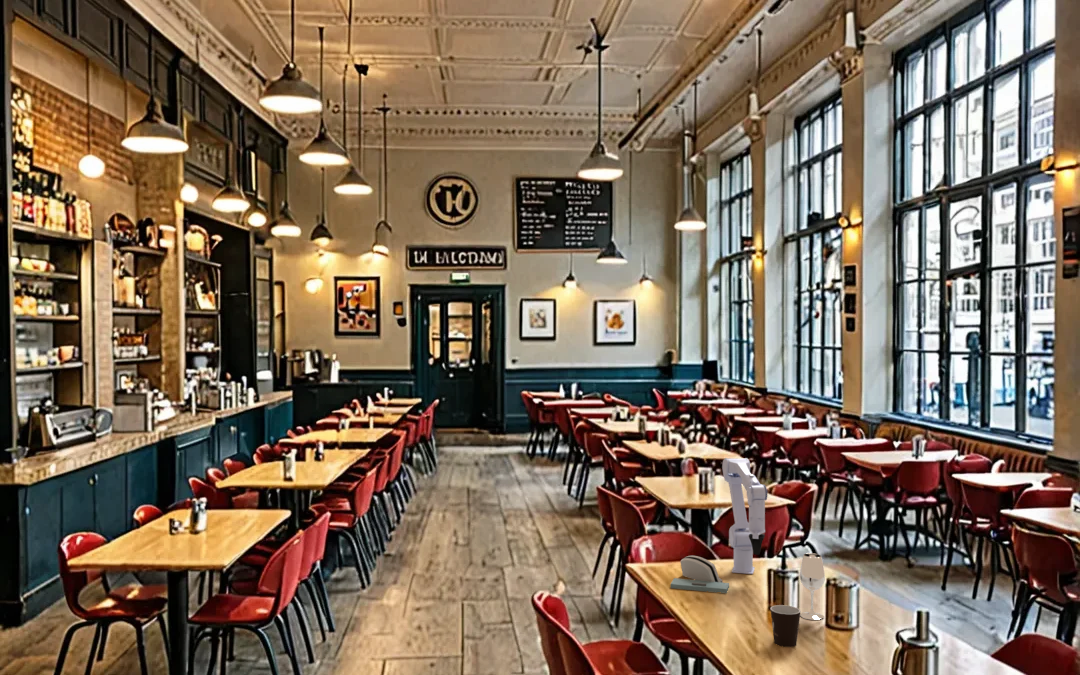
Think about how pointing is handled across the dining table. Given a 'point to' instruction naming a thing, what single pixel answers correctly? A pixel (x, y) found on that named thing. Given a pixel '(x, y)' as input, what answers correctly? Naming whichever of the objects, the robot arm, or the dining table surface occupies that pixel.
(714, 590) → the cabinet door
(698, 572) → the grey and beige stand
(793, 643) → the coffee mug
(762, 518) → the robot arm
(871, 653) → the dining table surface
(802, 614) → the wineglass
